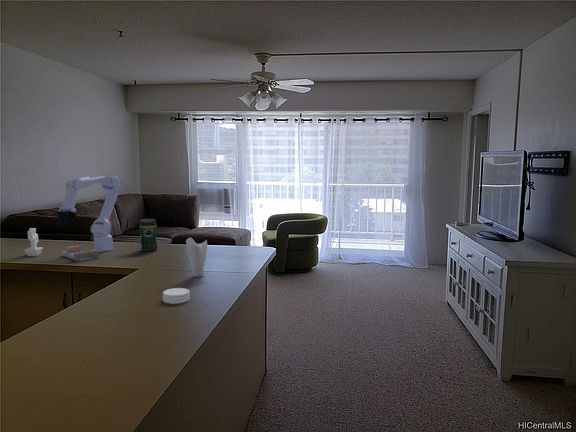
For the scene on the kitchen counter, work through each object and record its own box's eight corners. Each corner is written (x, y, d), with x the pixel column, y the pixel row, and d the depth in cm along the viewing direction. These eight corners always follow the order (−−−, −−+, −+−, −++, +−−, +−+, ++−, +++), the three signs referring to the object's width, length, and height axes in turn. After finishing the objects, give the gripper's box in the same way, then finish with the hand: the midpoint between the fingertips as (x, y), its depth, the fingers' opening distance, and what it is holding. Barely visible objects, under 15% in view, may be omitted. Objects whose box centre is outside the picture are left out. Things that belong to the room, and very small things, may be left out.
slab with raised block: (78, 253, 246) (77, 244, 245) (82, 254, 243) (82, 245, 242) (62, 255, 238) (61, 246, 238) (66, 257, 235) (65, 247, 235)
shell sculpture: (210, 274, 203) (209, 236, 201) (201, 279, 196) (200, 239, 193) (194, 273, 206) (194, 235, 204) (185, 277, 198) (184, 238, 196)
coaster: (175, 306, 160) (175, 296, 159) (157, 301, 165) (156, 292, 165) (195, 299, 168) (195, 290, 168) (176, 294, 173) (176, 286, 173)
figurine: (44, 253, 245) (42, 226, 244) (38, 256, 236) (36, 229, 234) (30, 253, 244) (28, 227, 242) (23, 257, 235) (21, 229, 233)
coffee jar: (156, 248, 262) (156, 217, 259) (157, 251, 254) (156, 219, 252) (139, 249, 258) (138, 218, 256) (140, 252, 251) (139, 220, 249)
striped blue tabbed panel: (85, 254, 244) (85, 247, 243) (99, 257, 235) (98, 250, 235) (63, 257, 234) (63, 250, 234) (77, 261, 226) (76, 254, 225)
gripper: (55, 198, 233) (49, 223, 231) (69, 197, 225) (62, 223, 222) (68, 202, 239) (62, 226, 236) (82, 201, 230) (76, 226, 227)
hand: (63, 225), depth 229 cm, fingers open, 7 cm apart
